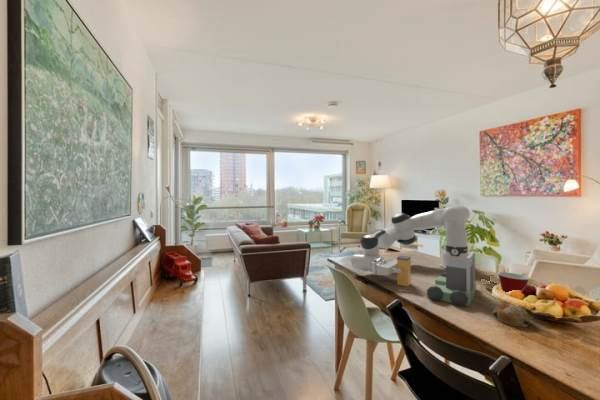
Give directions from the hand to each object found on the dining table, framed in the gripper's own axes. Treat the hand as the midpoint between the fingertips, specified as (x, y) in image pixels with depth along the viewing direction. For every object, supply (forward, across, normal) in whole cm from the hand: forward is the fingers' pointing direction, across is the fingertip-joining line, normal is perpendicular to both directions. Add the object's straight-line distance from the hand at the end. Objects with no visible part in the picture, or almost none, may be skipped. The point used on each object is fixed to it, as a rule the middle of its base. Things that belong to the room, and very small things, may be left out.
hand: (404, 269), depth 137 cm
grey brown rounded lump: (+43, +17, -8) cm, 47 cm away
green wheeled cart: (+22, 0, -8) cm, 23 cm away
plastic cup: (+44, -4, -8) cm, 44 cm away
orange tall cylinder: (0, 0, -8) cm, 8 cm away
